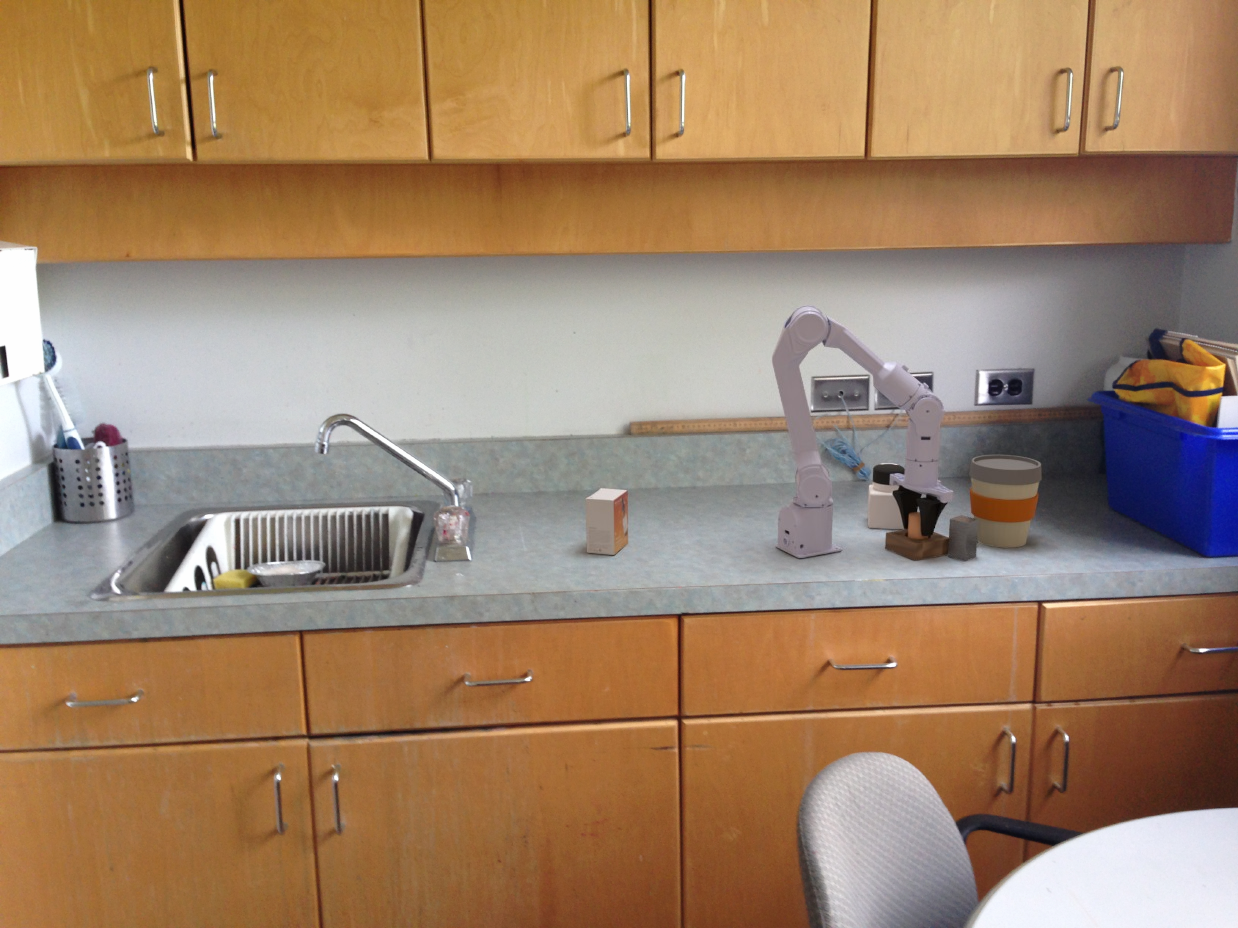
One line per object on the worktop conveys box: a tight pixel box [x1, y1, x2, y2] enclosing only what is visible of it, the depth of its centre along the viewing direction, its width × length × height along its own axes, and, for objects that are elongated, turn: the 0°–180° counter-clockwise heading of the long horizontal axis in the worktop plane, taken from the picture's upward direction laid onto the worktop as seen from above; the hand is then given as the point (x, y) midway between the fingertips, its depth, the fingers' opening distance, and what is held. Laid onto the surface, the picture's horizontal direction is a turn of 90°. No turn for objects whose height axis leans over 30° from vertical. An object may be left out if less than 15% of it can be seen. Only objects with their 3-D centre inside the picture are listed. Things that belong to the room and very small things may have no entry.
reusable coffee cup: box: [968, 454, 1043, 549], centre depth 192 cm, size 13×12×15 cm
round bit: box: [908, 511, 928, 539], centre depth 187 cm, size 4×4×7 cm
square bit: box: [947, 514, 979, 562], centre depth 184 cm, size 4×4×7 cm
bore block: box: [884, 529, 949, 562], centre depth 188 cm, size 8×8×3 cm
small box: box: [585, 487, 629, 556], centre depth 192 cm, size 8×6×10 cm
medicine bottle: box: [867, 462, 905, 530], centre depth 203 cm, size 7×7×12 cm
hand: (918, 531), depth 187 cm, fingers open, 4 cm apart
